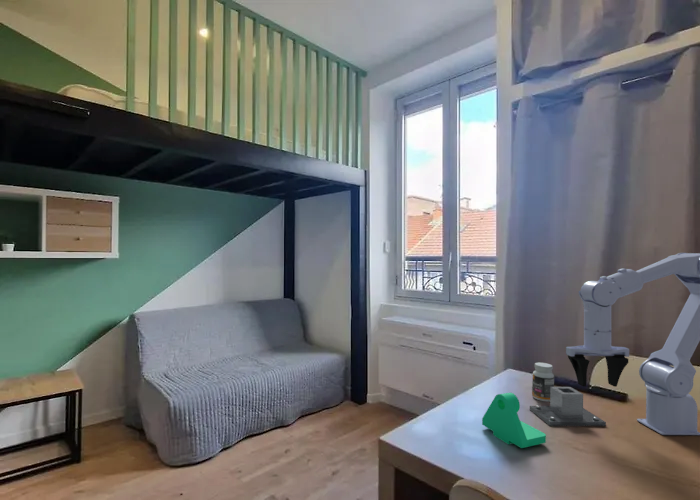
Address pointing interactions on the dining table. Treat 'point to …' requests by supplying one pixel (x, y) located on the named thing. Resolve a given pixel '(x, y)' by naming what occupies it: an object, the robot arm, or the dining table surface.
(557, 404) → the grey square socket
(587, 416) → the dark grey mounting plate
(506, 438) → the camera mount
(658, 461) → the dining table surface
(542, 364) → the pill bottle
